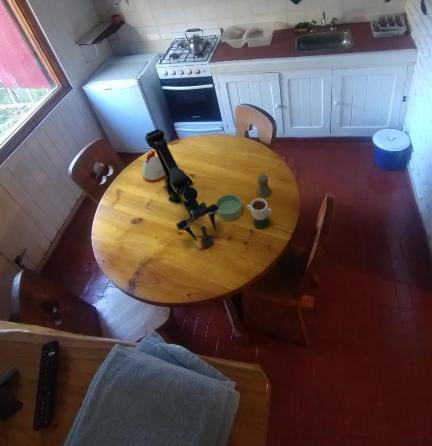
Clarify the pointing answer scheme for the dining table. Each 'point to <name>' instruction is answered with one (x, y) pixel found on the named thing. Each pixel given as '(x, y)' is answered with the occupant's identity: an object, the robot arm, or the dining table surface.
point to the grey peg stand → (206, 238)
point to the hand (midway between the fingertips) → (206, 235)
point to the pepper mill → (263, 185)
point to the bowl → (229, 207)
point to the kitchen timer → (152, 168)
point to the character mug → (259, 212)
